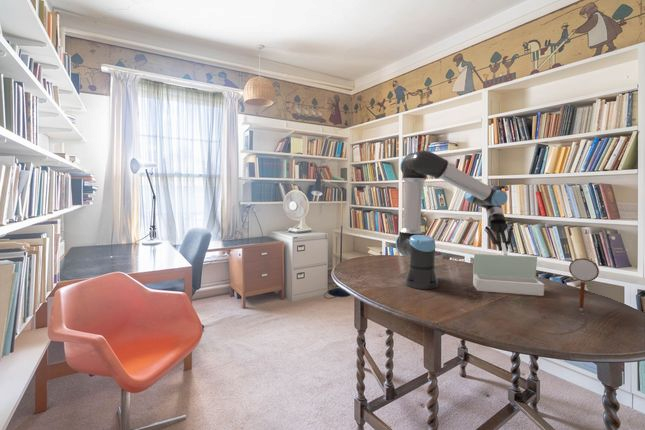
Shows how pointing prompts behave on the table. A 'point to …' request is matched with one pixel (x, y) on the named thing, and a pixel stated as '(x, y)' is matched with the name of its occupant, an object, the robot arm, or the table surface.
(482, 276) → the cable duct
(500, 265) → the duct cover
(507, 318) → the table surface
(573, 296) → the table surface
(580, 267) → the magnifying glass
